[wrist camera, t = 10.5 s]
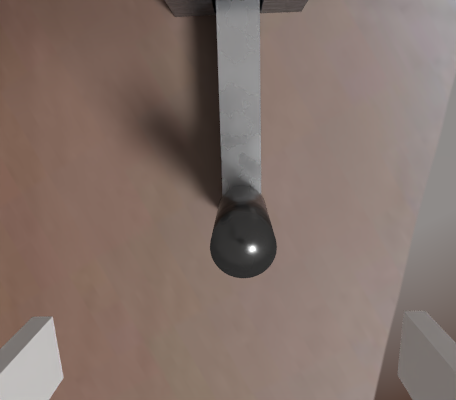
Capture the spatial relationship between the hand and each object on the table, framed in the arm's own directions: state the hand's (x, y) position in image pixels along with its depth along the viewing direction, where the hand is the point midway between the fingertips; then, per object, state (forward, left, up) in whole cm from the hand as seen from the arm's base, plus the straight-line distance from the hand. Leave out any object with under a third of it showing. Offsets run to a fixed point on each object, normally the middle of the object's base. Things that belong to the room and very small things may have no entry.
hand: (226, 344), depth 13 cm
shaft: (-11, +1, -24) cm, 26 cm away
